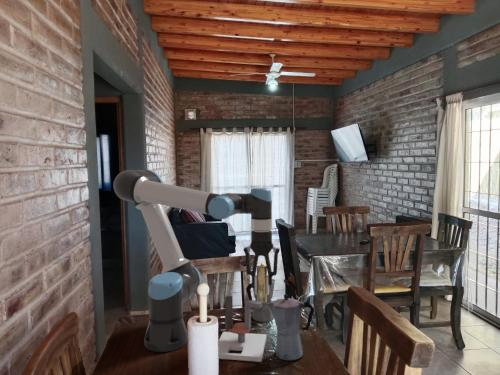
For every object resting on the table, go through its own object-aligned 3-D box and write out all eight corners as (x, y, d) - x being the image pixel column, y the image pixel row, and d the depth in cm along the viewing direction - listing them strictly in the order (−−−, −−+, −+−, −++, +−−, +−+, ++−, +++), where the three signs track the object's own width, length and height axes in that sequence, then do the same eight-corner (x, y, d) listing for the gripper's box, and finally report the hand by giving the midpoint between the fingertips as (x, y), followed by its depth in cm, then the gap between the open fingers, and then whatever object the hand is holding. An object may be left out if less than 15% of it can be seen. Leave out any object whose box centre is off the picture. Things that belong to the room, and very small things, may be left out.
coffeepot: (267, 310, 155) (267, 269, 154) (282, 316, 148) (282, 274, 147) (239, 319, 145) (239, 276, 145) (254, 327, 138) (254, 281, 137)
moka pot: (268, 345, 123) (268, 288, 123) (313, 349, 121) (314, 291, 120) (265, 360, 114) (265, 298, 113) (314, 364, 112) (314, 301, 111)
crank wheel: (264, 341, 123) (264, 299, 122) (257, 349, 117) (257, 305, 117) (230, 333, 129) (229, 293, 128) (221, 340, 124) (221, 299, 123)
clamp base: (212, 358, 115) (212, 353, 115) (223, 335, 131) (223, 331, 131) (261, 361, 113) (261, 357, 113) (266, 338, 129) (266, 334, 129)
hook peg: (256, 303, 129) (256, 265, 129) (257, 299, 133) (257, 262, 133) (266, 303, 129) (266, 265, 128) (267, 299, 133) (267, 263, 132)
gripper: (284, 228, 132) (285, 291, 133) (240, 228, 135) (241, 289, 136) (283, 232, 125) (284, 298, 126) (237, 231, 127) (237, 296, 128)
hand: (262, 293), depth 131 cm, fingers closed on hook peg, 3 cm apart
